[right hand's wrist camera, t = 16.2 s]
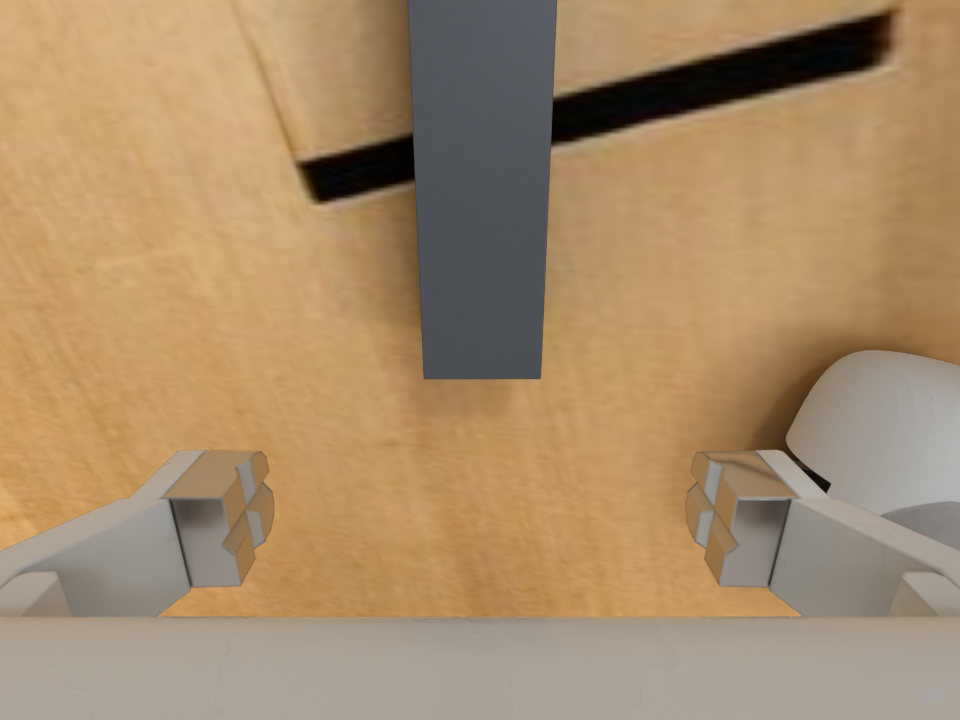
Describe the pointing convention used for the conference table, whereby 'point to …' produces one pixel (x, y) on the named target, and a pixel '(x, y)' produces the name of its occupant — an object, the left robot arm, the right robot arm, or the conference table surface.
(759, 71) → the conference table surface
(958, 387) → the grey plastic housing
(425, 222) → the bar
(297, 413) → the conference table surface
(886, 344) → the conference table surface
